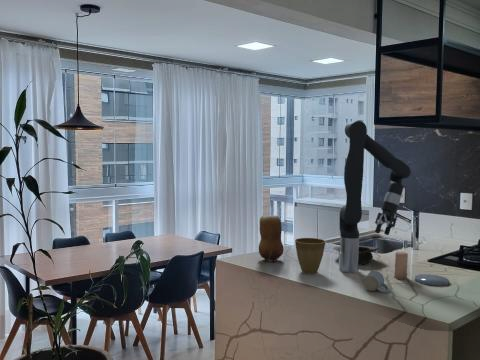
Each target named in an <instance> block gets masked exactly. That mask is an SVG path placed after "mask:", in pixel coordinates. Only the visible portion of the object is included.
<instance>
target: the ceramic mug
mask: <svg viewBox="0 0 480 360" xmlns="http://www.w3.org/2000/svg"><path fill="white" fill-rule="evenodd" d="M362 284H363V287H364V289H366V291H370V292H375V291H379V292H381V293H384V294H386V293H388V292H389V290H390V288H389V286H388V285H387V284H386V283H385V277H384V275H383V274H382V273H381V272H379V271H378V270H372V271H370V272H368V273H367V275H366V276H364V278H363V281H362Z"/></svg>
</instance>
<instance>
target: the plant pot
mask: <svg viewBox="0 0 480 360" xmlns="http://www.w3.org/2000/svg"><path fill="white" fill-rule="evenodd" d="M294 242H295V243H294V244H295V251H296V256H297V260H298V263H299V267H300V269H301V272H302V273H303V274H306V275H307V274H308V275H315V274H317V273H318V271H319V268H320V265H321V262H322V259H323V256H324V251H325V247H326V240H324V239H322V238H321V239H320V238H314V237H299V238H296V239H295V240H294Z"/></svg>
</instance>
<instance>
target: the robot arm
mask: <svg viewBox="0 0 480 360" xmlns="http://www.w3.org/2000/svg"><path fill="white" fill-rule="evenodd" d="M344 134H345V136H346V137H347V138H349V148H348V153H347V157H346V159H345V164H344V171H343V172H344V173H343V182H344V188H345V193H346V194H345V195H346V202H345V205H344V206H342V207H341V209H340V211H339V233H340V237H339V238H340V239H339V241H340V242H339V247H340V250H339V251H338V270H339V272H343V273H357V272H358V271H359V265H358V253H359V246H360V231H359V227H358V224H359V223H360V222H361V221H362V216H363V211H362V209H363V208H362V193H363V192H362V191H363V180H364V165H365V164H364V163H365V162H364V161H365V150H366V151H367V152H368V153H369V154H370V155H371V156H372V157H373V158H374V159H376V160H377V161H378V162H379V163H380V164H381V165H382V166H383V167H385V168H387V169H390V170H391V171H390V174H389V182H388V183H389V184H388V187H387V191H386V193H385V195H384V198H383V202H382V204H381V209H380V210H381V211H382V212H378V213H377V216H376V219H375V221H374V224H375V225H376V227H375V231H374V232H375V233H376V234H380V233H381V228H382V227H383V225H385V224H386V227H385V230H384V235H385V236H389V235H390V232H391V229H392V228H395V226H396V223H397V219H398V215H397V212H398V209H399V206H400V203H401V197H402V194H403V191H404V185H403V184H402V183H403V182H402V181H403V179H404V180H405V179H408V178H409V177H410V176H411V173H412V171H411V168H410V166H409V165H408V164H407V163H405V162H404V161H403V160H401V159H399V158H398V157H396V156H395V155H394V154H392V152H390V151H389V150H388V149H387V148H386V147H385V146H383V145H382V144H380V143H379V142H377V141H376V140H374V139H373V138H372V137H371V136H370V135H369V134H368V129H367V125H366V124H365V123H364V122H363V121H362V120H353V121H349V122H348V123H347V124H346V125H345V126H344Z"/></svg>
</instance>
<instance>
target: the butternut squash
mask: <svg viewBox="0 0 480 360" xmlns="http://www.w3.org/2000/svg"><path fill="white" fill-rule="evenodd" d="M282 231H283V230H282V220H281V219H280V217H279V216H278V215H276V214H275V215H272V214H271V215H266V214H265V215H262V216H260V218H259V234H260V241H259V243H258V254H259V255H260V257H261V258H263V259H264V260H266V261H269V262H276V261H277V260H278V259H280V257H281V256H282V255H283V254H284V245H283V242H282Z"/></svg>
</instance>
